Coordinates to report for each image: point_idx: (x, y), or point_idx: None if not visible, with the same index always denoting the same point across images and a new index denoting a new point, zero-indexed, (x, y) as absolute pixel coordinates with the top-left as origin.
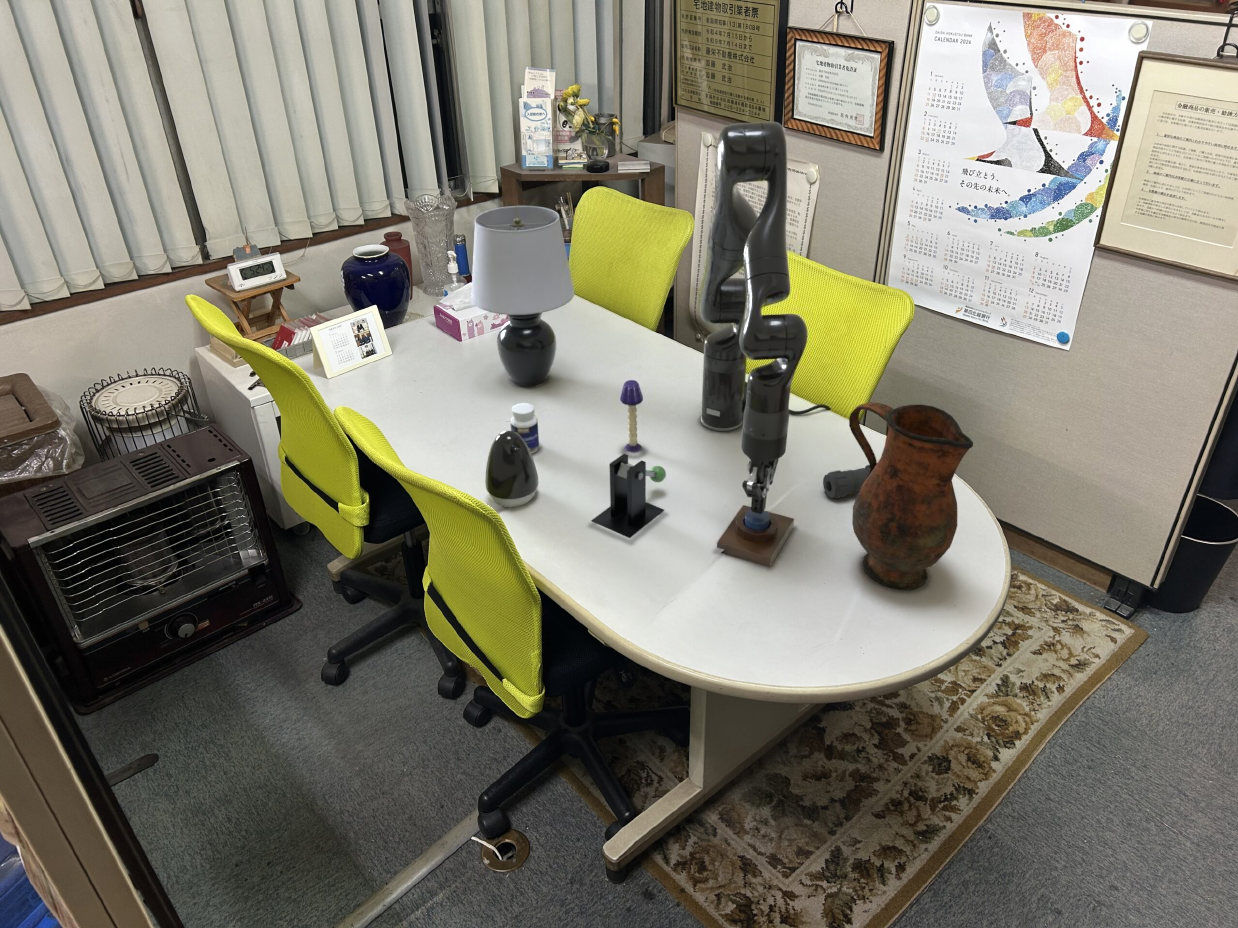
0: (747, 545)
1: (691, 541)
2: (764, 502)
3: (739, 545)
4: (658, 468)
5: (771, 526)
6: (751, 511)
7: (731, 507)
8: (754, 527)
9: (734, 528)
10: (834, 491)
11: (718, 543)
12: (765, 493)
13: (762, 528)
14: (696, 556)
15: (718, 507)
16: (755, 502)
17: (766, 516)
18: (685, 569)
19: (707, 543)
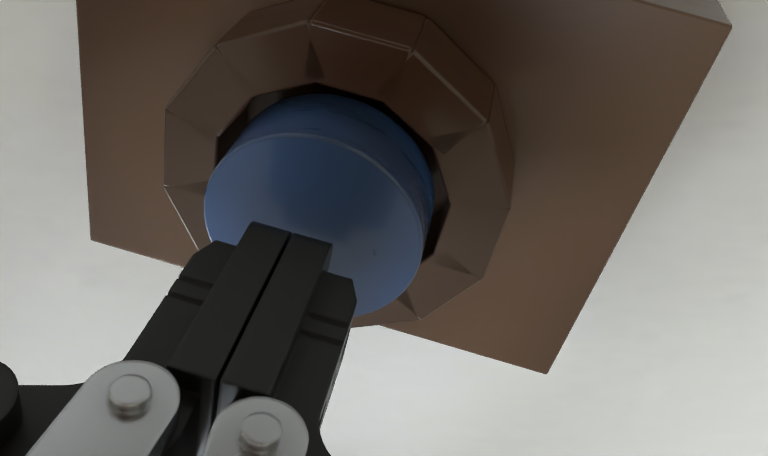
0: (563, 210)
1: (468, 418)
2: (262, 309)
3: (568, 258)
4: None
5: (358, 80)
6: None
7: (93, 252)
8: (429, 223)
9: None
10: None
11: (550, 362)
12: (253, 447)
13: (414, 157)
14: (602, 402)
15: (127, 310)
16: (325, 407)
17: (293, 164)
18: (728, 446)
19: (471, 357)
